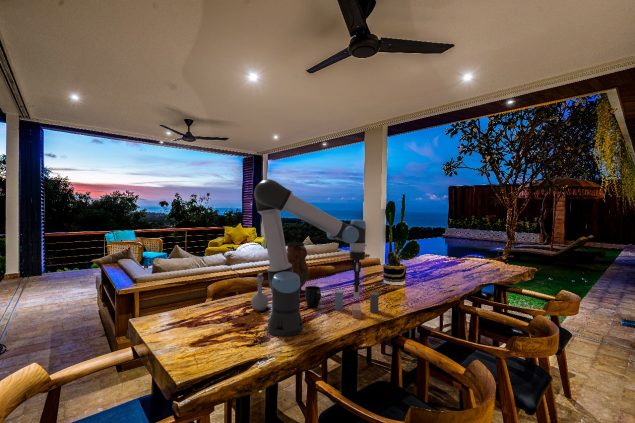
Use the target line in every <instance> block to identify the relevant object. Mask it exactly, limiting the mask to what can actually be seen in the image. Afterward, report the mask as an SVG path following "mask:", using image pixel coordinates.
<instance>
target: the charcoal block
mask: <svg viewBox="0 0 635 423" xmlns="http://www.w3.org/2000/svg"><path fill="white" fill-rule="evenodd" d="M369 294H370V295H369V299H370V300H369V313H373V314H375V313H376V314H379V298H380V297H379V296H380V295H379V292H373V291H372V292H370V293H369Z"/></svg>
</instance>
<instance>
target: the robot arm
mask: <svg viewBox="0 0 635 423" xmlns="http://www.w3.org/2000/svg"><path fill="white" fill-rule="evenodd" d="M253 197H254V200H255V205H256V210H257V213H258V214H259V215H261V222H262V226H263V232H264V237H265V238H264V239H265V245H266V250H267V257H268V263H269V266H268V268H267V270H266V271H267V276H268V286H269V289H270V290H271V294H272V296H271V297H272V298H271V307H272V308H271V314H270V317H269V320H268V322H267V332H268V333H269V334H270V335H273V336H276V337H284V338H285V337H287V338H288V337H293V336H297V335H299V334H301V333H302V332H303V330H304V322H303V319H302V318H303V317H302V315H301V312H300V299H301V298H300V296H301V295H300V277H299V276H298V275H297V274H296V273H293V269H292V264H290V263H289V262H288V259H287V249H286V248H287V247H286V242H285V236H284V235H285V234H284V228H283V223H282V218H281V217H282V216H281V212H283V211H285V212H287V213H289V214H291V215H292V216H295V217H296V218H298V219H300V220H302V221H304V222H306V223H308V224H310V225H312V226H314V227H315V228H317V229H319V230H321V231H324V232H325V233H326V237H327V238H328V239H329V240H338V241H341V242H344V243H347V244H349V250H350V251H349V259H351V260H354V261H353V262H352V266H353V272H354V273H353V274H354V279H353V283H352V286H353V299H360V285H361V284H362V283H361V282H360V274H361V268H362V262H361V261H362V260H365V259H366V252H365V251H366V247H367V244H366V231H367V227H366V226H367V224H366V221H365V220H362V219H352V220H350V223H345V222H344V221H343V220H340V219H338V218H337V217H334V216H333V215H331V214H329V213H327V212H325V211H324V210H321V209H320V208H319V207H316V206H314V205H313V204H310V203H309V202H307V201H305V200H304V199H302V198H300V197H298V196H296V195H294V193H293V191H292V190H290V189H288V188H286V187H285V186H284V185H283V184H280V183H279V182H278V181H276V180H274V179H271V178H270V179H269V178H268V179H264V180H261V181H260V182H258V184H256V186H255V188H254V191H253ZM360 260H361V261H360Z"/></svg>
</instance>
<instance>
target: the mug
mask: <svg viewBox="0 0 635 423" xmlns="http://www.w3.org/2000/svg"><path fill="white" fill-rule="evenodd" d="M321 292H322V291H321V287H320V286H317V285H308V286H305V288H304V296H305V302H306V306H307V307H308V308H317V307H318V306H319V304H320V301H321V300H322V293H321Z"/></svg>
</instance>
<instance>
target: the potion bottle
mask: <svg viewBox="0 0 635 423" xmlns="http://www.w3.org/2000/svg"><path fill="white" fill-rule="evenodd" d="M263 274H264V273H263V272H259V273H257V276H256V281H257V293H254V294H253V296H252V297H251V300H250V303H251V306H252V310H255V311H259V312H260V311H264V310H266V309H267V306H268V305H269V297H268V295H267V294H266V293H264V292H263V282H264V280H265V277H264V276H263Z"/></svg>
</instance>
